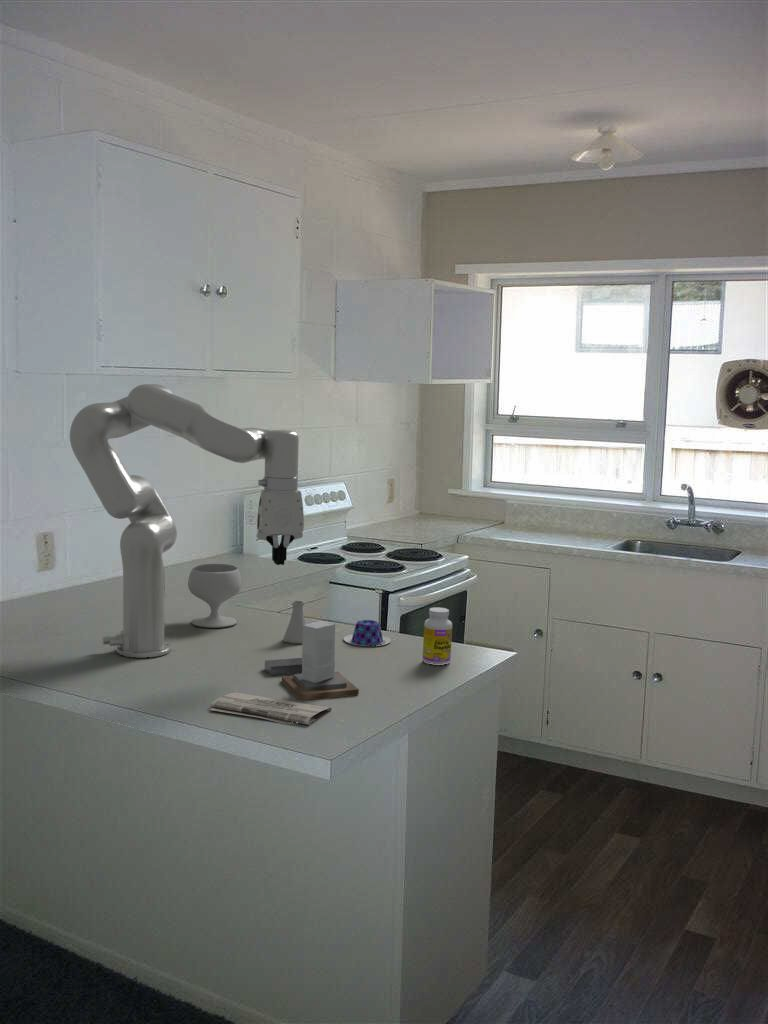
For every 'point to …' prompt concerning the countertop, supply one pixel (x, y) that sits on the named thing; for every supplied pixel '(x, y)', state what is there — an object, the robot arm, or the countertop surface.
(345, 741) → the countertop surface
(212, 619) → the chalice
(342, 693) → the tray
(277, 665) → the rail
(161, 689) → the countertop surface
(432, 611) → the supplement bottle
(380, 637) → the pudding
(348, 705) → the countertop surface
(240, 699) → the newspaper
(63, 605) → the countertop surface
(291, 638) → the flask
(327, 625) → the skincare box
